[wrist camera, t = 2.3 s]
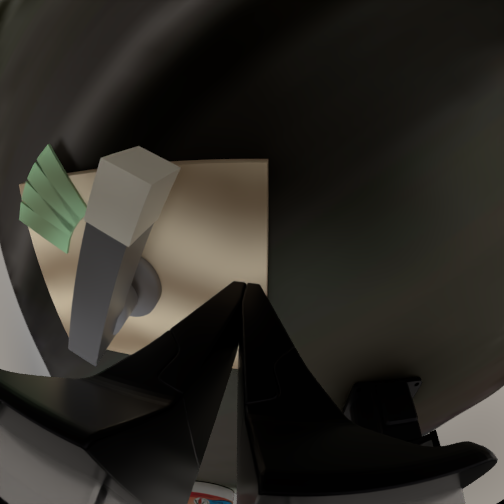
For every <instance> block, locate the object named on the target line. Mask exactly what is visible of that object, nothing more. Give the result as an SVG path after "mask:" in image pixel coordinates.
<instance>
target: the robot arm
mask: <svg viewBox="0 0 504 504" xmlns="http://www.w3.org/2000/svg"><path fill="white" fill-rule="evenodd" d="M238 346H239V348H238ZM237 350H238V397H237V504H465V500H464V495H463V490H462V489H463V488H464V487H466V486H468V485H469V484H471V483H472V482H474V481H475V480H477V479H478V478H480V477H481V476H482V475H484V474H485V473H486V472H488V471H489V470H490V469H491V468H492V467H493V466H494V465H495V464H496V463H497V460H498V459H497V458H496V456H495V455H494V454H493V453H492V452H491V451H490V450H489V449H487V448H486V447H484V446H481V445H478V444H475V443H472V442H469V441H468V442H460V443H455V444H451V445H447V446H440V443H439V440H438V436H437V432H436V430H434V431H432V432H430V434H427V435H425V436H423V437H422V434H421V430H420V426H419V423H418V416H417V413H416V409H415V406H414V402H413V397H414V396H415V394H416V392H417V391H418V389H419V387H420V386H421V384H422V381H421V378H419V377H417V378H409V379H400V380H390V381H377V382H362V383H356V384H355V385H354V386H353V387H352V390H351V393H350V395H349V398H348V400H347V403H346V405H345V408H344V410H343V412H341V410H340V409H339V408H338V407H337V405H336V404H335V403H334V402H333V400H332V399H331V398H330V397H329V395H328V394H327V393H326V392H325V390H324V389H323V388H322V387H321V385H320V384H319V383H318V382H317V380H316V379H315V378H314V376H313V375H312V373H311V372H310V371H309V369H308V368H307V366H306V365H305V363H304V361H303V360H302V358H301V357H300V355H299V353H298V351H297V349H296V348H295V346H294V344H293V343H292V341H291V339H290V337H289V335H288V334H287V332H286V330H285V328H284V327H283V325H282V323H281V321H280V319H279V318H278V316H277V314H276V312H275V310H274V309H273V307H272V305H271V303H270V301H269V300H268V298H267V296H266V294H265V292H264V291H263V289H262V287H261V285H260V284H256V283H247V284H246V283H245V282H239V281H233V282H231V283H230V284H229V285H227V286H226V287H225V288H224V289H222V290H221V291H220V292H218V293H217V294H216V295H214V296H213V297H212V298H210V299H209V300H208V301H206V302H205V303H204V304H202V305H201V306H200V307H198V308H197V309H196V310H194V311H193V312H192V313H190V314H189V315H188V316H187V317H185V318H184V319H183V320H181V321H180V322H179V323H177V324H176V325H175V326H173V327H172V328H171V329H170V331H169V330H168V331H166V332H165V333H164V334H162V335H161V336H160V337H158V338H157V339H155V340H154V341H152V342H151V343H150V344H148V345H147V346H145V347H143V348H142V349H140V350H138V351H137V352H135V353H133V354H132V355H130V356H128V357H126V358H125V359H123V360H121V361H119V362H118V363H116V364H114V365H112V366H111V367H109V368H107V369H105V370H103V371H102V372H100V373H98V374H96V375H93V376H90V377H87V378H80V379H71V378H57V377H44V376H35V375H27V374H19V373H14V372H9V371H5V370H1V369H0V504H187V503H188V500H189V497H190V494H191V492H192V489H193V486H194V483H195V480H196V477H197V474H198V471H199V468H200V465H201V462H202V459H203V456H204V453H205V450H206V447H207V444H208V441H209V438H210V435H211V432H212V429H213V426H214V423H215V420H216V416H217V413H218V410H219V407H220V404H221V401H222V398H223V395H224V392H225V389H226V386H227V382H228V379H229V376H230V373H231V370H232V367H233V364H234V360H235V357H236V354H237ZM497 504H504V500H502V501H501V502H499V503H497Z"/></svg>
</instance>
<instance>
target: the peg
mask: <svg viewBox="0 0 504 504" xmlns="http://www.w3.org/2000/svg"><path fill="white" fill-rule="evenodd" d="M180 169H181V167H179V166H177V165H175V164H173V163H171V162H169V161H167V160H165V159H163V158H161V157H159V156H157V155H155V154H153V153H151V152H150V151H148V150H146V149H144V148H142V147H140V146H137V147H133V148H130V149H127V150H124V151H120V152H117V153H114V154H111V155H108V156H105V157H102V158H101V159H100V162H99V165H98V169H97V172H96V175H95V179H94V182H93V186H92V189H91V193H90V197H89V200H88V204H87V208H86V212H85V217H84V221H86V225H85V230H84V234H83V239H82V244H81V249H80V254H79V260H78V265H77V271H76V278H75V285H74V292H73V300H72V309H71V319H70V331H69V347H68V349H69V350H71V351H72V352H74V353H75V354H77V355H78V356H80V357H81V358H83V359H85V360H86V361H88V362H89V363H91V364H93V365H94V366H97V364H98V362H99V361H100V359H101V357H102V356H103V354H104V353H105V351H106V349H107V348H108V346H109V345H110V343H111V342H112V340H113V338H114V337H115V335H116V334H117V333H118V332H119V331H120V329H121V328H122V326H123V325H124V323H125V322H126V320H127V319H128V317H129V316H130V314H131V313H132V311H133V310H134V308H135V307H136V305H137V303H138V296H137V293H136V291H135V289H134V288H133V286H132V285H131V284H132V281H133V278H134V275H135V272H136V269H137V266H138V264H139V261H140V258H141V255H142V253H143V250H144V247H145V245H146V242H147V239H148V237H149V234H150V232H151V229H152V226H153V224H154V222H155V221H157V220H158V218H159V216H160V214H161V211H162V209H163V207H164V204H165V202H166V200H167V197H168V195H169V193H170V190H171V188H172V186H173V184H174V182H175V179H176V177H177V175H178V173H179V171H180Z"/></svg>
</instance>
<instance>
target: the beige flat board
mask: <svg viewBox="0 0 504 504" xmlns="http://www.w3.org/2000/svg"><path fill="white" fill-rule="evenodd" d="M37 161H38V162H35V163H34V165H33V167H32V169H31V171H30V173H29V176H28V178H27V179H28V181H26V182H24V183H22V184H19V187H20V192H21V197H22V202H21V206H20V218H19V220H20V221H22V222H23V223H24V224H26V225H27V226H28V227H29V231H30V235H31V238H32V242H33V245H34V249H35V252H36V255H37V258H38V261H39V264H40V267H41V270H42V273H43V276H44V279H45V282H46V284H47V287H48V290H49V292H50V295H51V297H52V300H53V302H54V305H55V307H56V310H57V312H58V314H59V317H60V319H61V321H62V323H63V326H64V328H65V330H66V332H67V334H68V336H69V331H70V319H71V309H72V300H73V292H74V285H75V278H76V271H77V265H78V260H79V254H80V249H81V244H82V239H83V234H84V230H85V225H86V221H84V217H85V212H86V208H87V204H88V200H89V197H90V193H91V189H92V186H93V182H94V179H95V175H96V172H97V169H92V170H84V171H78V172H71V173H66V171H65V169H64V168H63V166H62V164H61V163H60V161H59V159H58V157H57V156H56V154H55V152H54V150H53V148H52V147H51V145H50V144H48V145H47V146H46V148H45V149H44V150H43V152H42V153H41V154H40V156H39V157H38V158H37ZM38 163H39V164H40V165H39V164H38ZM171 163H173V164H175V165H177V166H179V167H181V169H180V171H179V173H178V175H177V177H176V179H175V182H174V184H173V186H172V188H171V190H170V193H169V195H168V197H167V200H166V202H165V204H164V207H163V209H162V211H161V214H160V216H159V218H158V220H157V221H155V222H154V224H153V226H152V229H151V232H150V234H149V237H148V239H147V242H146V245H145V247H144V250H143V253H142V255H141V258H140V261H139V264H138V266H137V269H136V272H135V275H134V278H133V281H132V284H131V285H132V286H133V288H134V289H135V291H136V293H137V296H138V303H137V305H136V307H135V308H134V310H133V311H132V313H131V314H130V316H129V317H128V319H127V320H126V322H125V323H124V325H123V326H122V328H121V329H120V331H119V332H118V333H117V334H116V335H115V337H114V338H113V340H112V342H111V343H110V345H109V346H108V348H107V350H111V351H116V352H121V353H126V354H131V355H132V354H133V353H135V352H137V351H138V350H140V349H142V348H143V347H145V346H147V345H148V344H150V343H151V342H152V341H154V340H155V339H157V338H158V337H160V336H161V335H162V334H164V333H165V332H166V331H168V330H169V331H170V329H171V328H172V327H173V326H175V325H176V324H177V323H179V322H180V321H181V320H183V319H184V318H185V317H187V316H188V315H189V314H190V313H192V312H193V311H194V310H196V309H197V308H198V307H200V306H201V305H202V304H204V303H205V302H206V301H208V300H209V299H210V298H212V297H213V296H214V295H216V294H217V293H218V292H220V291H221V290H222V289H224V288H225V287H226V286H227V285H229V284H230V283H231V282H233V281H239V282H245V283H246V284H247V283H256V284H260V285H261V287H262V289H263V291H264V292H265V294H266V296H267V295H268V159H213V160H189V161H172V162H171ZM238 348H239V346H238ZM232 368H235V369H238V350H237V354H236V357H235V360H234V364H233V367H232Z"/></svg>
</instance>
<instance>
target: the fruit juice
mask: <svg viewBox="0 0 504 504" xmlns="http://www.w3.org/2000/svg"><path fill="white" fill-rule="evenodd" d="M233 500H234V493H233V491H232V490H230V489H228V488H225V487H222V486H219V485H215V484H210V483H205V482H195V483H194V486H193V489H192V492H191V494H190V497H189V500H188V503H187V504H233Z"/></svg>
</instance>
